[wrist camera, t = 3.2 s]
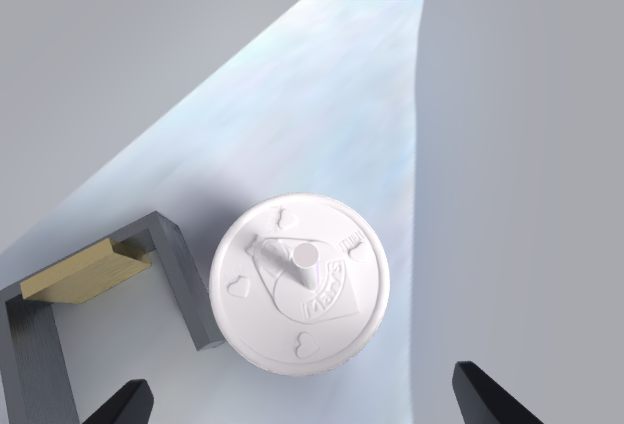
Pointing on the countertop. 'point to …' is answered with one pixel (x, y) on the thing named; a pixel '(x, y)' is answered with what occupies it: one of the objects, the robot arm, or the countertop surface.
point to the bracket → (77, 289)
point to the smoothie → (299, 284)
